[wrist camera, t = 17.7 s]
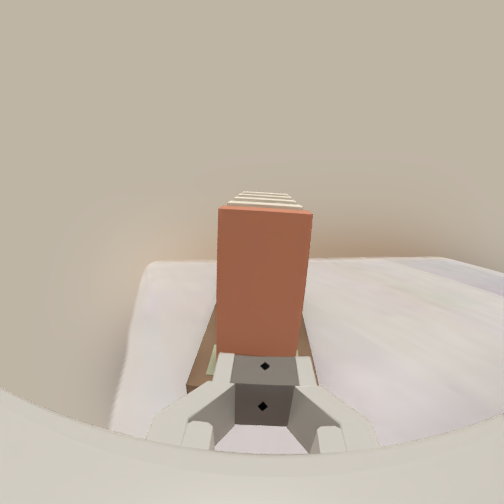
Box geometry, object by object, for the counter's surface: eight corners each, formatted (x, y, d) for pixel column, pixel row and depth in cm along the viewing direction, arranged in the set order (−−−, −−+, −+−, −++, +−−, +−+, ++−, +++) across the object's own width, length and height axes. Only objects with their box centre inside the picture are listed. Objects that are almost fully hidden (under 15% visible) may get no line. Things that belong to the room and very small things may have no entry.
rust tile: (219, 352, 20) (222, 205, 17) (291, 356, 20) (308, 210, 17) (216, 365, 18) (218, 208, 16) (293, 370, 18) (312, 214, 16)
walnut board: (289, 273, 41) (289, 264, 41) (316, 406, 16) (320, 392, 16) (231, 269, 42) (231, 260, 41) (187, 398, 17) (186, 384, 16)
